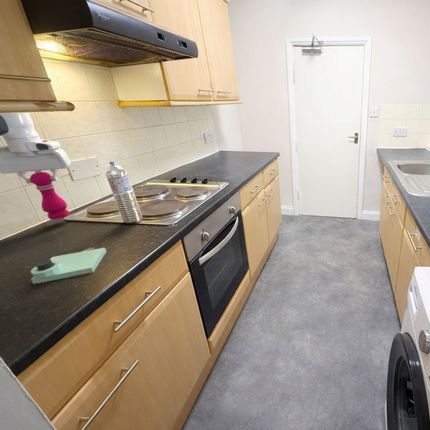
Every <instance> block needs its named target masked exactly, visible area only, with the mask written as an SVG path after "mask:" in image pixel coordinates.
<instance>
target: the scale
mask: <svg viewBox="0 0 430 430" xmlns="http://www.w3.org/2000/svg"><path fill="white" fill-rule="evenodd" d="M107 252H108V251H107V249H106V248H105V247H101V248H94V249H89V250H84V251H79V252H72V253H67V254H61V255H56V256H52V257H50V259H49V260H51V261H52V263H53V265H54V266H53V267H51V268H49V269H46V270H43V271H39V270H38V268H37V267H36V266H34V267H33V268H31V270H30V273H31V275H32V278H31V279H30V281H31V282H32V284H33V285H37V284H41V282H42V283H46V282H51V281H55V280H61V279H62V280H63V279H66V278H71V277H77V276H82V275H85V274H86V275H87V274H91V273H94V272H95V271H96V270H97V268H98V266H99V264H101V261H102V260H103V259H104V256H105V255H106V254H107ZM36 283H37V284H36Z"/></svg>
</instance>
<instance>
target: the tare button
mask: <svg viewBox="0 0 430 430" xmlns="http://www.w3.org/2000/svg"><path fill="white" fill-rule="evenodd" d="M53 266H54V265H53V263H52V261H51V260H50V259H44V260H41V261H39V262H37V263H36V264H35V267H37V268H38V270H39V271H43V270H46V269H49V268H51V267H53Z"/></svg>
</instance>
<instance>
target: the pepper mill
mask: <svg viewBox="0 0 430 430" xmlns="http://www.w3.org/2000/svg"><path fill="white" fill-rule="evenodd" d="M34 172H35V173H32V174H31V175H30V177H29V178H30V180H31V182H32V183H31V184H33V185H35V188H36V190H38V191H39V192H40V194H41V209H42V211H43V212H45V213H46V214H47V215H46V216H47V217H48V219H49V220H59V219H63V218H66V217H69V215H70V211H69V210H68V209H67V207H68V204H67V202H66V201H65V200H64V199H63V198H62V197H61V196H59V195H58V194H57V193H56V191H55V184H54V183H53V181H51V179H50V177H51V176H52V175H51V174H50V173H49V172H45V171H34Z"/></svg>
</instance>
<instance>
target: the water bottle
mask: <svg viewBox="0 0 430 430" xmlns="http://www.w3.org/2000/svg"><path fill="white" fill-rule="evenodd" d="M109 165H110V166H109V167H108V168H107V169H106V171H105V173H104V174H105V178H106V179H107V182H108V184H109V187H110V190H111V193H112V195H113V198H114V201H115V204H116V206H117V208H118V211H119V214H120V216H121V219H122V222H123V223H124V224H126V225H133V223H134V224H137V223H139V222H141V221H142V220H143V219H144V216H143V214H142V210H141V208H140V205H139V202H138V199H137V196H136V193H135V191H134V188H133V185H132V183H131V180H130V178H129V174H128V173H129V172H128V171H127V170H126V168H124V167H122V166H121V165H118V164H117V162H116V161H115V160H111V161H109Z"/></svg>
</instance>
